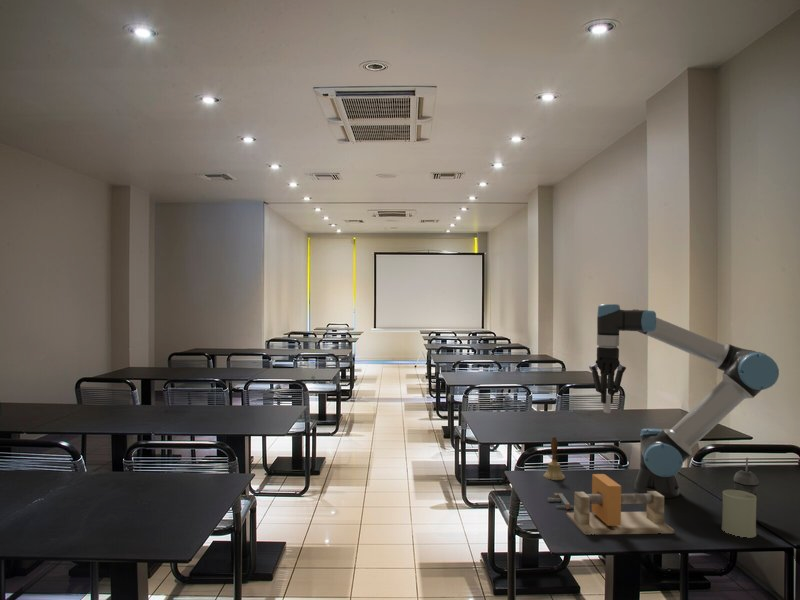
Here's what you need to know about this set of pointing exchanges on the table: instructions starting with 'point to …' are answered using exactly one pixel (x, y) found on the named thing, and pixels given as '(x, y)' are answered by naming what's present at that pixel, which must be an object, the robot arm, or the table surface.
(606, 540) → the table surface
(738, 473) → the beverage cup
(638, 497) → the pipe rig
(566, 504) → the clamp
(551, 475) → the hand bell
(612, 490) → the orange slotted block
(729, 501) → the pale green cylinder
